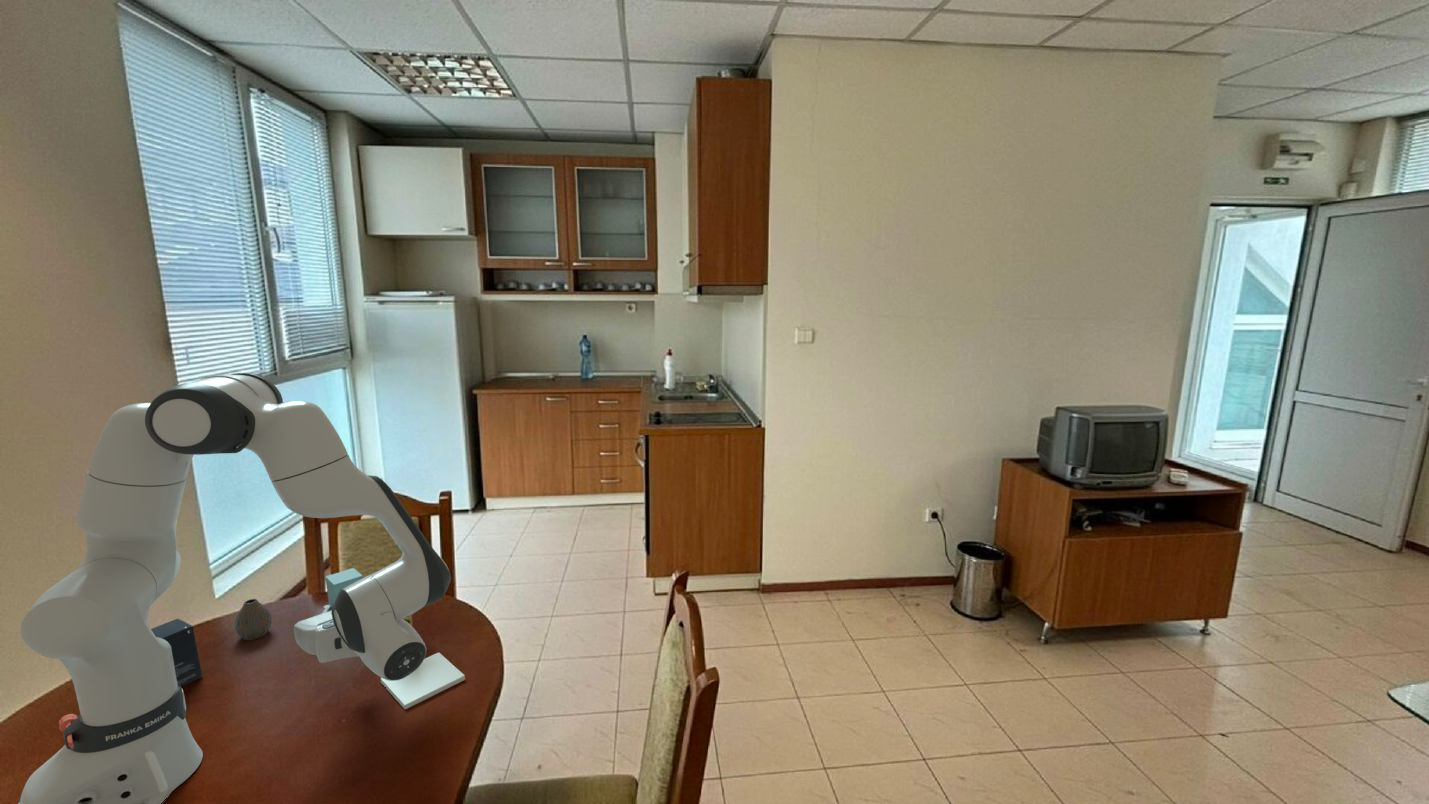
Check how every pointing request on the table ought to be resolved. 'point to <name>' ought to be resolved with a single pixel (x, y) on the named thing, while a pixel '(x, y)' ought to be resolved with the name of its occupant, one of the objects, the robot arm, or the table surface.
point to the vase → (252, 620)
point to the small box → (181, 649)
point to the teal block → (340, 582)
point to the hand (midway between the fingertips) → (345, 602)
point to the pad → (424, 681)
